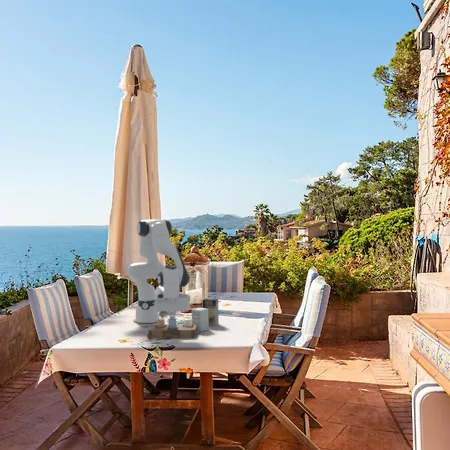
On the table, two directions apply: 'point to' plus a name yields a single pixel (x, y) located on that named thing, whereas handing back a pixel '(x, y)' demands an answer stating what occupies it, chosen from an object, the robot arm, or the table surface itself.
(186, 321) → the cream egg-shaped piece
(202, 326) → the supplement box
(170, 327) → the key slate
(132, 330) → the table surface
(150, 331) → the tray
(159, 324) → the tan rounded short cylinder
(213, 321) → the coffee box
